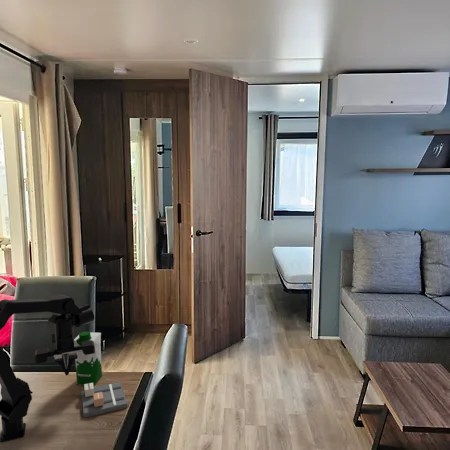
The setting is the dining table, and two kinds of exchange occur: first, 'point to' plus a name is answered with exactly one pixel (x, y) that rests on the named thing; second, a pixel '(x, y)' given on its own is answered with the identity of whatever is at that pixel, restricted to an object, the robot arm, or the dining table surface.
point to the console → (105, 399)
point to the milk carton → (88, 359)
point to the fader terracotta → (98, 399)
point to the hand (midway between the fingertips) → (67, 374)
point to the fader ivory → (89, 389)
